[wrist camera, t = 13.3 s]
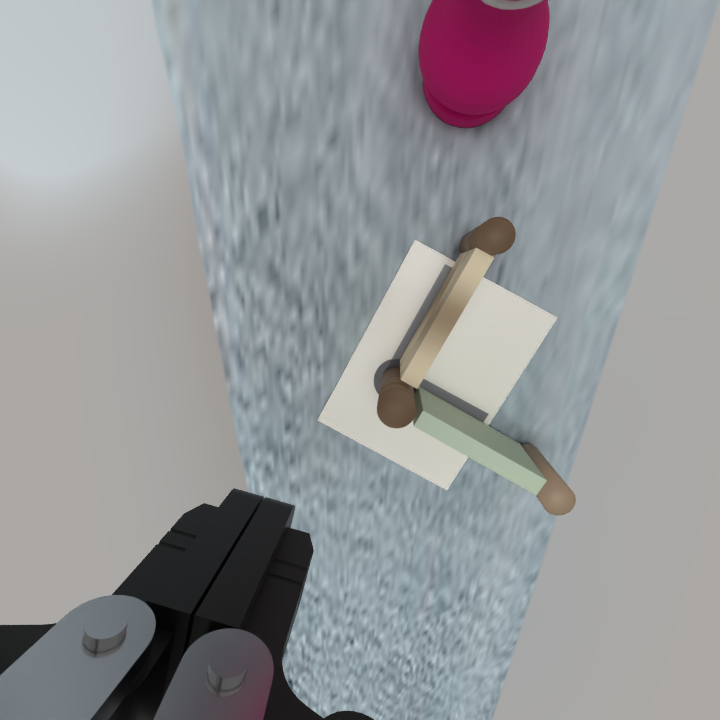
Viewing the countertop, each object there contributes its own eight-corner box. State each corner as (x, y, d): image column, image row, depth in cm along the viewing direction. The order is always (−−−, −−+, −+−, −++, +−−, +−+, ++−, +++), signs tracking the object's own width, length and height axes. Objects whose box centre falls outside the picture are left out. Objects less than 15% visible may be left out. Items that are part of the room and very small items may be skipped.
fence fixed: (466, 225, 31) (488, 208, 23) (494, 241, 31) (526, 229, 23) (376, 385, 34) (369, 416, 26) (402, 400, 34) (404, 435, 26)
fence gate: (407, 403, 33) (410, 434, 26) (421, 382, 33) (427, 408, 26) (530, 472, 33) (563, 520, 27) (544, 452, 33) (582, 495, 26)
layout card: (414, 240, 32) (415, 239, 31) (556, 317, 32) (557, 317, 31) (318, 419, 35) (317, 420, 34) (446, 488, 35) (447, 490, 35)
